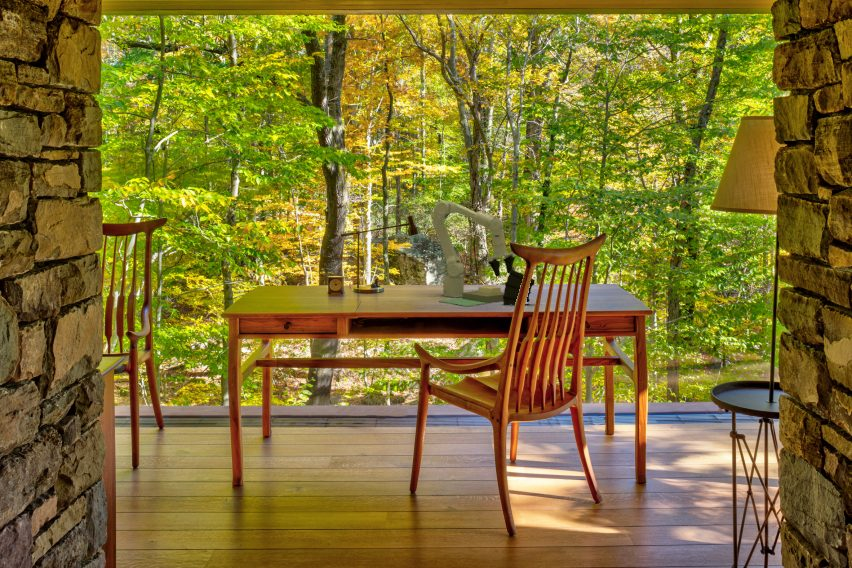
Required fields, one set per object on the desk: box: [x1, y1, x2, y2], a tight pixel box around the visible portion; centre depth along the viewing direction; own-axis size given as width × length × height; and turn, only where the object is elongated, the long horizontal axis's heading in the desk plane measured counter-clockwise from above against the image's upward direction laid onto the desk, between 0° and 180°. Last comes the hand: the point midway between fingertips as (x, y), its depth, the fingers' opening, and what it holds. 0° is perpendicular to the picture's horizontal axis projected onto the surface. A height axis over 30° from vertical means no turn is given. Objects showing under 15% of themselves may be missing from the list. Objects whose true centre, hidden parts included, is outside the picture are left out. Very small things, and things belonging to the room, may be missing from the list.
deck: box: [462, 290, 504, 304], centre depth 352 cm, size 16×14×3 cm
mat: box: [439, 297, 488, 308], centre depth 344 cm, size 18×12×1 cm, turn 40°
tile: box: [477, 285, 502, 294], centre depth 353 cm, size 8×6×2 cm
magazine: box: [502, 268, 536, 306], centre depth 338 cm, size 4×13×15 cm, turn 84°
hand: (503, 274), depth 357 cm, fingers open, 7 cm apart
